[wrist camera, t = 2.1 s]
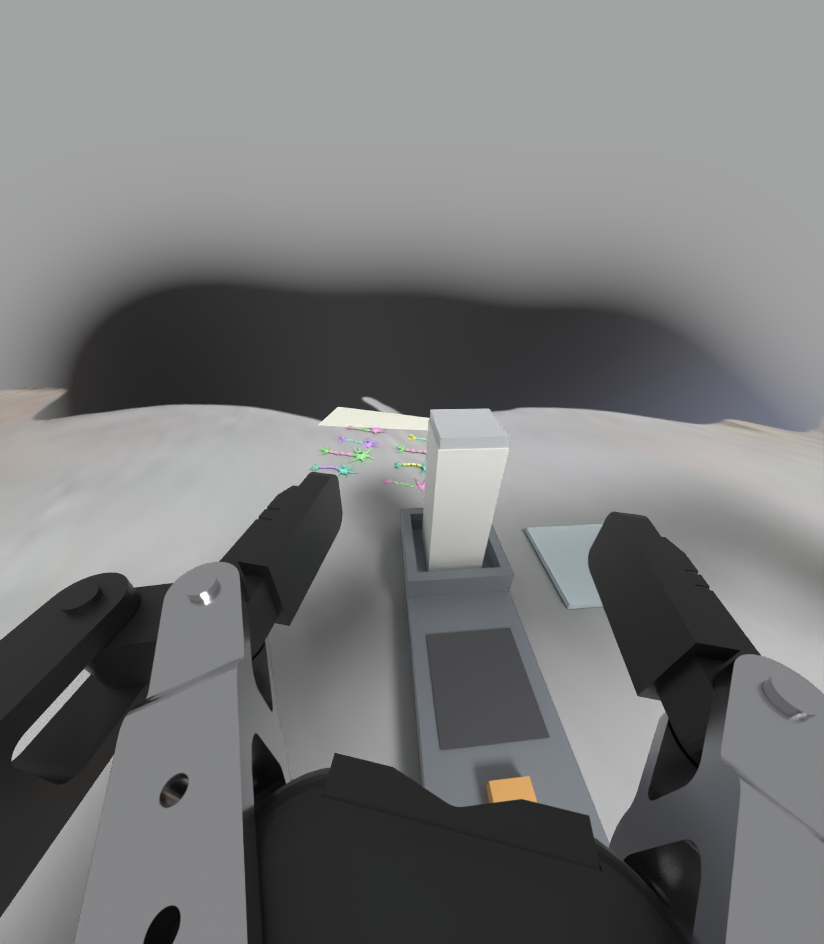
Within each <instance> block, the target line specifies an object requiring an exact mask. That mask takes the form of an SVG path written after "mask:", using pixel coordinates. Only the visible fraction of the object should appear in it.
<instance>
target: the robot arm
mask: <svg viewBox="0 0 824 944" xmlns="http://www.w3.org/2000/svg"><path fill="white" fill-rule="evenodd" d="M341 522H342V506H341V498H340V490H339V482H338V478H337V476H336V475H333V474H325V473H318V472H311V473H309V474H308V476H307V477H306V478H305V479H304V480H303V482H302V483H301V484H300V485H299V486H291V487H290V488H288V489H286V490H285V491H283V492H282V493H280V494H278V495H277V496H276V497H275V499H274V500H273V501H272V502H271V503H270V504H269V505H268V507H267V509H265V510H264V511H263V512H262V513H261V515H260V516H259V519H258V520H257V519H256V520H255V521H254V523H253V524H252V525H251V526H250V527H249V528H248V529H247V531H246V532H245V533H244V534H243V535H242V536H241V538H240V539H239V540H238V541H237V542H236V543H235V544H234V546H233V547H232V548H231V549H230V550H229V551H228V552H227V554H226V555H225V556H224V557H223V558H222V559H221V560H220V561H219V562H212V563H207V564H204V565H201V566H198V567H196V568H194V569H192V570H190V571H188V572H187V573H185V574H184V575H182V576H181V577H180V578H179V579H178V580H176V581H175V582H174V583H170V584H162V585H153V586H145V587H137V588H134V587H133V586H132V584H131V583H130V582H129V581H128V579H127V578H126V577H125V576H124V575H122V574H119V573H102V574H97V575H94V576H90V577H88V578H85V579H82V580H80V581H78V582H76V583H74V584H72V585H70V586H68V587H67V588H65V589H64V590H62V591H60V592H59V593H58V594H56V595H55V596H54V597H52V598H51V599H50V600H49V601H48V602H46V603H45V604H44V605H43V606H41V607H40V608H39V609H38V610H37V611H35V612H34V613H33V614H32V615H31V616H29V617H28V618H27V619H26V620H24V621H23V622H22V623H21V624H20V625H18V626H17V627H16V628H15V629H13V630H12V631H11V632H10V633H9V634H7V635H6V636H5V637H4V638H3V639H1V640H0V917H1V916H2V914H3V913H4V912H5V910H6V909H7V907H8V906H9V904H10V903H11V901H12V900H13V899H14V897H15V896H16V894H17V893H18V891H19V890H20V889H21V887H22V886H23V884H24V883H25V881H26V880H27V878H28V877H29V876H30V874H31V873H32V871H33V870H34V868H35V867H36V866H37V864H38V863H39V861H40V860H41V858H42V857H43V856H44V854H45V853H46V851H47V850H48V848H49V847H50V845H51V844H52V843H53V841H54V840H55V838H56V837H57V835H58V834H59V833H60V831H61V830H62V828H63V827H64V825H65V824H66V822H67V821H68V820H69V818H70V817H71V815H72V814H73V812H74V811H75V810H76V808H77V807H78V805H79V804H80V802H81V801H82V799H83V798H84V797H85V795H86V794H87V792H88V791H89V789H90V788H91V787H92V785H93V784H94V782H95V781H96V779H97V778H98V777H99V775H100V774H101V772H102V771H103V769H104V768H105V766H106V765H107V764H108V762H109V761H110V759H111V758H112V756H113V755H114V758H113V763H112V767H111V772H110V777H109V781H108V786H107V791H106V795H105V800H104V805H103V810H102V814H101V819H100V824H99V828H98V833H97V838H96V842H95V847H94V852H93V857H92V861H91V866H90V871H89V875H88V880H87V885H86V889H85V894H84V899H83V903H82V908H81V913H80V918H79V922H78V927H77V932H76V936H75V941H74V944H824V694H823V693H822V692H821V691H820V690H819V689H818V688H816V687H815V686H814V685H813V684H811V683H810V682H809V681H808V680H806V679H805V678H804V677H802V676H801V675H799V674H798V673H796V672H795V671H793V670H792V669H790V668H788V667H786V666H785V665H783V664H781V663H779V662H776V661H774V660H772V659H769V658H766V657H763V656H761V655H760V654H759V652H758V651H757V650H756V648H755V647H754V646H753V644H752V643H751V642H750V640H749V639H748V638H747V636H746V635H745V634H744V632H743V631H742V630H741V628H740V627H739V626H738V624H737V623H736V621H735V620H734V619H733V617H732V616H731V615H730V613H729V612H728V611H727V609H726V608H725V607H724V605H723V604H722V603H721V601H720V600H719V599H718V597H717V596H716V595H715V593H714V592H713V591H711V590H709V585H708V584H707V583H706V581H705V580H704V579H703V577H702V576H701V575H698V571H697V569H696V568H695V566H694V565H693V564H692V562H691V561H690V560H689V558H688V557H687V556H686V554H685V553H684V552H682V551H681V550H680V549H679V548H678V547H676V546H675V545H674V544H673V543H671V542H670V541H669V540H668V539H667V538H665V537H661V536H660V534H659V533H658V532H657V530H656V529H655V527H654V526H653V524H652V523H651V522H650V520H649V519H648V518H647V517H645V516H642V515H635V514H627V513H619V512H612V513H610V514H609V515H608V516H607V518H606V520H605V522H604V523H603V525H602V527H601V529H600V531H599V533H598V535H597V537H596V538H595V540H594V542H593V544H592V546H591V548H590V550H589V554H588V567H589V571H590V573H591V576H592V579H593V581H594V584H595V586H596V589H597V592H598V594H599V597H600V599H601V602H602V605H603V607H604V610H605V612H606V615H607V618H608V620H609V623H610V625H611V628H612V631H613V633H614V636H615V638H616V641H617V644H618V646H619V649H620V651H621V654H622V657H623V659H624V662H625V664H626V667H627V670H628V672H629V675H630V677H631V680H632V683H633V685H634V688H635V690H636V693H637V696H640V697H645V698H650V699H655V700H660V701H661V702H662V704H663V707H664V709H665V711H666V712H665V713H664V714H663V715H662V716H661V717H660V719H659V722H658V725H657V728H656V732H655V735H654V738H653V741H652V745H651V748H650V751H649V755H648V758H647V761H646V764H645V768H644V771H643V774H642V778H641V781H640V784H639V787H638V791H637V794H636V796H635V799H634V801H633V803H632V805H631V806H630V808H629V809H628V811H627V812H626V813H625V814H624V816H623V817H622V819H621V820H620V822H619V824H618V826H617V827H616V830H615V832H614V834H613V837H612V839H611V842H610V845H609V848H608V847H607V846H606V845H604V844H603V843H602V842H600V841H599V840H598V839H597V838H595V837H594V835H593V831H592V826H591V821H590V817H589V815H585V814H581V813H577V812H573V811H569V810H565V809H561V808H557V807H553V806H549V805H545V804H541V803H536V802H532V801H528V800H524V799H518V800H510V801H502V802H495V803H487V804H480V805H472V806H465V807H456V806H452V805H450V804H448V803H447V802H445V801H444V800H442V799H441V798H439V797H437V796H436V795H434V794H433V793H431V792H430V791H428V790H427V789H425V788H424V787H422V786H421V785H419V784H418V783H416V782H415V781H413V780H412V779H410V778H408V777H407V776H405V775H404V774H402V773H401V772H399V771H398V770H396V769H395V768H393V767H390V766H386V765H382V764H378V763H374V762H370V761H366V760H362V759H357V758H353V757H349V756H345V755H341V754H337V753H335V754H334V758H333V761H332V765H331V768H325V769H320V770H317V771H313V772H310V773H307V774H305V775H302V776H300V777H298V778H296V779H294V780H292V781H291V777H290V769H289V762H288V755H287V749H286V744H285V740H284V735H283V732H282V728H281V725H280V721H279V716H278V710H277V702H276V694H275V687H274V679H273V671H272V663H271V656H270V648H269V640H268V634H269V632H270V631H271V629H272V627H273V625H274V623H278V624H283V625H288V626H290V624H291V622H292V620H293V618H294V616H295V614H296V612H297V611H298V609H299V607H300V605H301V603H302V601H303V599H304V597H305V595H306V593H307V591H308V589H309V587H310V585H311V584H312V582H313V580H314V578H315V576H316V574H317V572H318V570H319V568H320V566H321V564H322V562H323V560H324V558H325V557H326V555H327V553H328V551H329V549H330V547H331V545H332V543H333V541H334V539H335V537H336V535H337V533H338V531H339V529H340V526H341ZM83 669H85V670H87V671H88V672H89V673H90V674H91V675H90V676H89V677H88V679H87V680H86V681H85V682H84V683H83V684H82V685H81V686H80V688H79V689H78V690H77V691H76V692H75V693H74V694H73V695H72V697H71V698H70V699H69V700H68V701H67V702H66V703H65V704H64V705H63V707H62V708H61V709H60V710H59V711H58V712H57V713H56V714H55V716H54V717H53V718H52V719H51V720H50V721H49V722H48V723H47V725H46V726H45V727H44V728H43V729H42V730H41V731H40V732H39V734H38V735H37V736H36V737H35V738H34V739H33V740H32V741H31V743H30V744H29V745H28V746H27V747H26V748H25V749H24V750H23V752H22V753H21V754H20V755H19V756H18V757H16V758H15V759H14V760H13V761H12V762H11V759H12V754H13V751H14V749H15V747H16V745H17V743H18V741H19V740H20V739H21V737H22V736H23V735H24V733H25V732H26V731H27V730H28V729H29V728H30V727H31V726H32V725H33V723H34V722H35V721H36V720H37V719H38V718H39V717H40V716H41V715H42V714H43V713H44V712H45V710H46V709H47V708H48V707H49V706H50V705H51V704H52V703H53V702H54V701H55V700H56V698H57V697H58V696H59V695H60V694H61V693H62V692H63V691H64V690H65V689H66V688H67V687H68V685H69V684H70V683H71V682H72V681H73V680H74V679H75V678H76V677H77V676H78V675H79V674H80V672H81V671H82V670H83Z"/></svg>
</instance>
